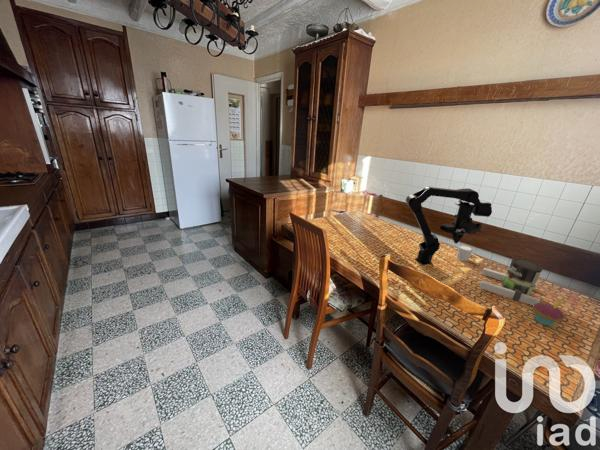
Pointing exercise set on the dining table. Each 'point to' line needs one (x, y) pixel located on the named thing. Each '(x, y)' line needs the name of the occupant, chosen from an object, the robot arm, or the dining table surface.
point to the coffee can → (522, 275)
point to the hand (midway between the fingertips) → (455, 243)
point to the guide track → (506, 292)
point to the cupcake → (548, 313)
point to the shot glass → (464, 253)
